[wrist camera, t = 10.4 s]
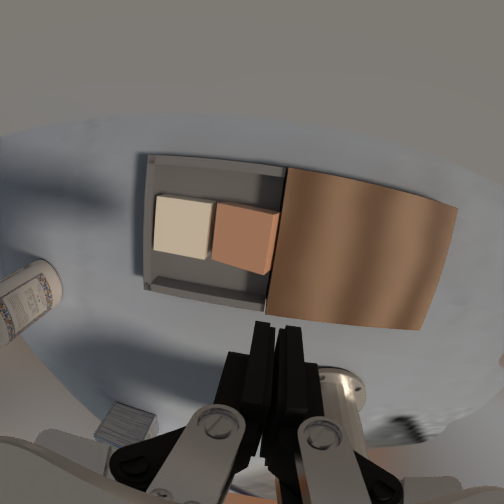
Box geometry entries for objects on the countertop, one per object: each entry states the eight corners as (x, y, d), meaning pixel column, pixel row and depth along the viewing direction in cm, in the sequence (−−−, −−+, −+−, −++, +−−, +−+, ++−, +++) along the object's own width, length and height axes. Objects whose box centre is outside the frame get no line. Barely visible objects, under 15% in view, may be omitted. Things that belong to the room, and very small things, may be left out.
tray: (285, 167, 24) (286, 167, 21) (264, 299, 28) (263, 311, 25) (159, 155, 24) (147, 154, 22) (153, 279, 28) (143, 289, 26)
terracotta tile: (281, 212, 23) (273, 214, 21) (272, 268, 24) (263, 275, 22) (229, 201, 24) (217, 203, 23) (223, 253, 26) (211, 259, 24)
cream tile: (156, 196, 23) (165, 193, 25) (153, 249, 24) (161, 243, 26) (211, 203, 23) (216, 200, 25) (204, 259, 24) (210, 252, 26)
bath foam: (32, 288, 31) (-57, 352, 12) (35, 249, 29) (-72, 309, 10) (62, 312, 32) (-28, 392, 13) (66, 274, 30) (-46, 353, 11)
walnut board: (442, 203, 23) (458, 208, 20) (409, 316, 27) (419, 330, 24) (287, 167, 24) (288, 167, 21) (266, 299, 28) (265, 314, 25)
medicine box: (119, 415, 38) (100, 449, 30) (114, 400, 36) (92, 435, 28) (160, 428, 37) (143, 466, 29) (156, 414, 36) (138, 454, 28)
